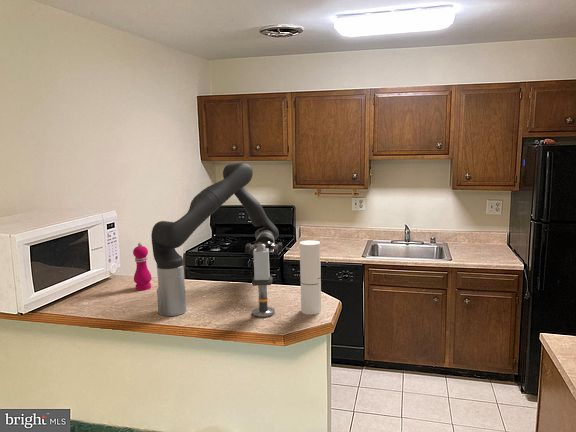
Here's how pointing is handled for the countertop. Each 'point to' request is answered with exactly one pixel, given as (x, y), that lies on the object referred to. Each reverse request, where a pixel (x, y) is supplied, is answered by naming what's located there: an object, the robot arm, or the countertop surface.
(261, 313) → the pipe stand
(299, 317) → the countertop surface
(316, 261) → the cylindrical container
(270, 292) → the countertop surface
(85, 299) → the countertop surface
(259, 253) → the sleeve
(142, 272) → the pepper mill
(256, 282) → the ring
